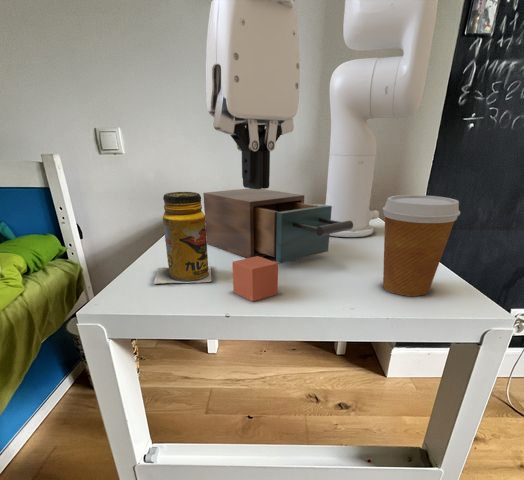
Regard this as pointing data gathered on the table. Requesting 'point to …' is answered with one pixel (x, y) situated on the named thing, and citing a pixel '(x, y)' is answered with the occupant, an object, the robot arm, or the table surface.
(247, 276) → the block
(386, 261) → the disposable coffee cup
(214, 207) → the cabinet
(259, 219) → the drawer
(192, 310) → the table surface
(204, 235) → the condiment
